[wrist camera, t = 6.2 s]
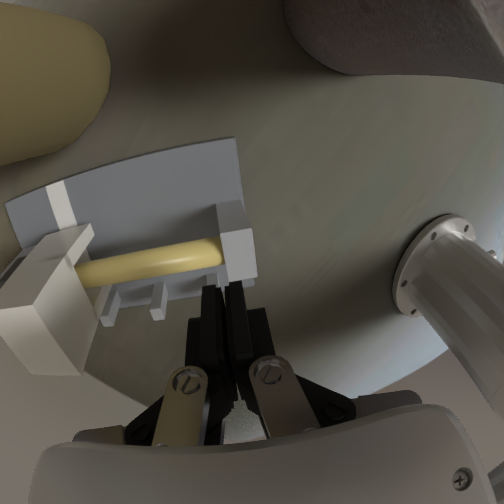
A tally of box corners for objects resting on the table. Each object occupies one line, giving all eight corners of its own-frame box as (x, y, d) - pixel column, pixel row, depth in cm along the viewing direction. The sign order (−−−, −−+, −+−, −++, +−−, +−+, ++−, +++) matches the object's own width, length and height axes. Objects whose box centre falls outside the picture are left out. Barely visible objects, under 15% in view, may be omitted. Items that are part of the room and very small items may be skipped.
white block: (90, 222, 16) (32, 304, 9) (113, 282, 18) (82, 375, 11) (45, 235, 15) (-16, 311, 8) (70, 289, 18) (31, 374, 11)
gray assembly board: (233, 136, 17) (248, 150, 11) (252, 278, 22) (268, 332, 17) (11, 199, 15) (-34, 233, 10) (60, 309, 21) (38, 358, 15)
